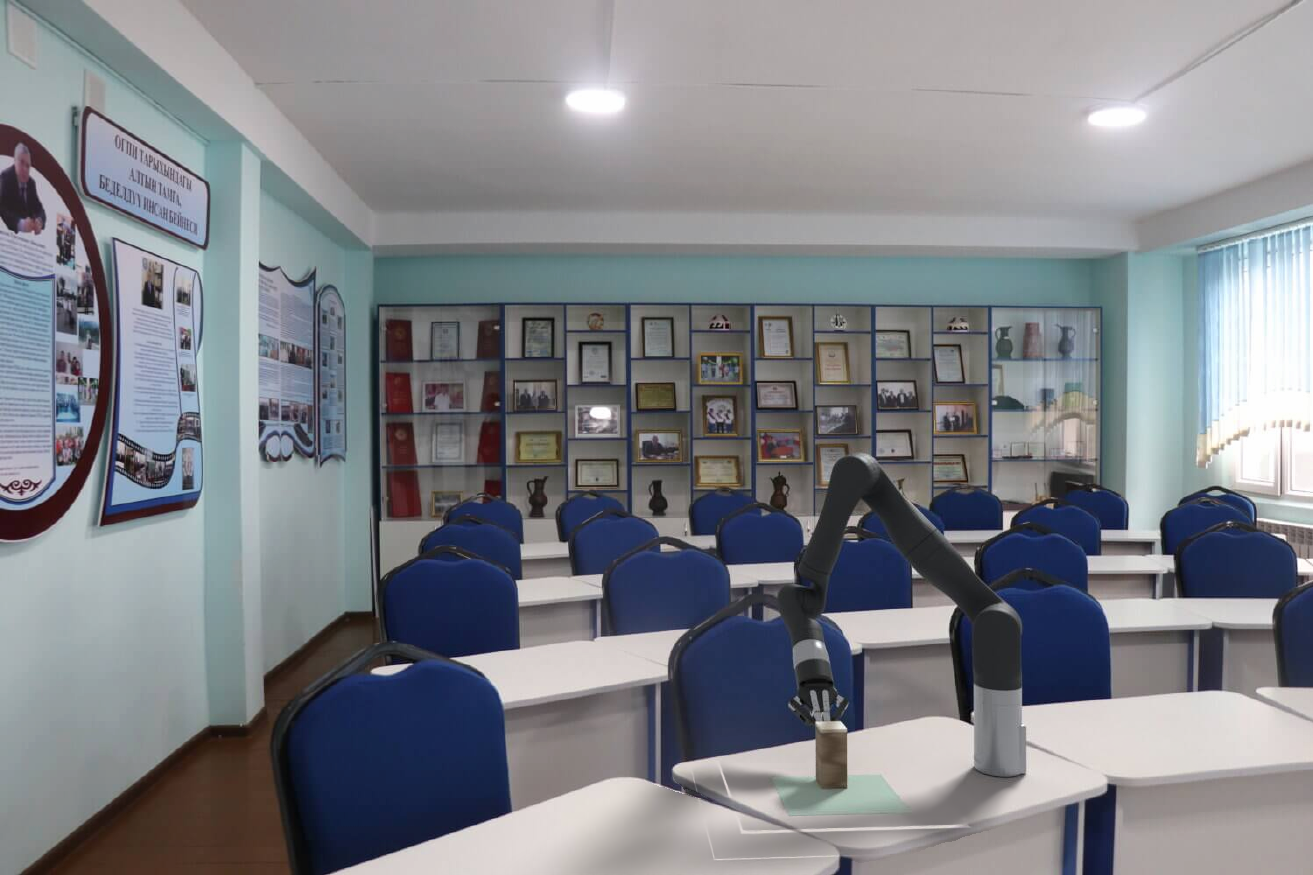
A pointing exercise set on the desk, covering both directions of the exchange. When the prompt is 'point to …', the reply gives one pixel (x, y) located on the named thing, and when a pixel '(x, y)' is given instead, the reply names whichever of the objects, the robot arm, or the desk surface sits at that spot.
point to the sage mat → (838, 796)
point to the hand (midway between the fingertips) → (825, 743)
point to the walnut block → (831, 755)
